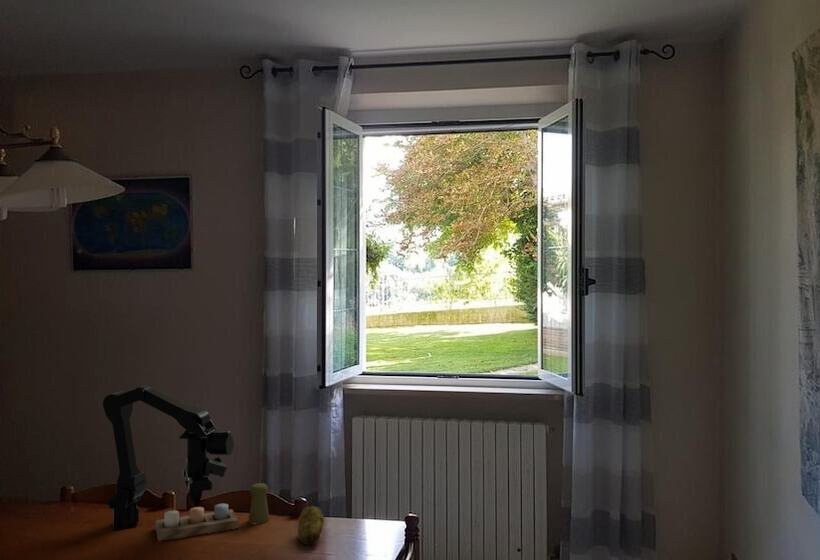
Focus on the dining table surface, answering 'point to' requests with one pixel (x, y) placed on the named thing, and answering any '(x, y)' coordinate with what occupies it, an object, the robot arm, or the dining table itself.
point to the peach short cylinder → (196, 515)
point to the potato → (310, 525)
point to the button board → (195, 526)
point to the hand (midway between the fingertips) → (196, 506)
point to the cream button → (171, 519)
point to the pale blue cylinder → (220, 511)
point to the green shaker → (259, 504)
